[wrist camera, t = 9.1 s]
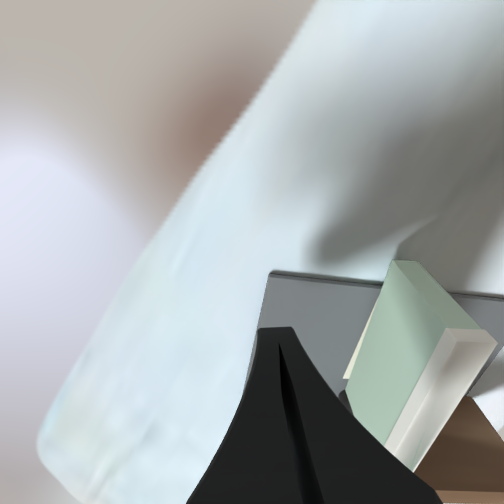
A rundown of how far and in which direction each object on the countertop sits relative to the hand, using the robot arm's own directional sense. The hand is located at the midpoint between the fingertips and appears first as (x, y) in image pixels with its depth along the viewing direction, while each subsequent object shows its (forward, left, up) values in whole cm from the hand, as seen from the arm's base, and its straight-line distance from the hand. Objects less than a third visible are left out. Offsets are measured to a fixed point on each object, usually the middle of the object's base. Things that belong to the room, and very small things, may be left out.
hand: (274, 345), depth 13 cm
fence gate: (-2, -6, -3) cm, 7 cm away
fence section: (-7, -10, -3) cm, 13 cm away
